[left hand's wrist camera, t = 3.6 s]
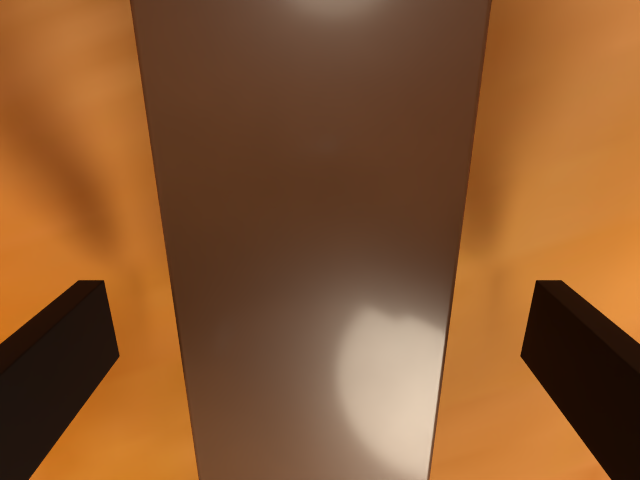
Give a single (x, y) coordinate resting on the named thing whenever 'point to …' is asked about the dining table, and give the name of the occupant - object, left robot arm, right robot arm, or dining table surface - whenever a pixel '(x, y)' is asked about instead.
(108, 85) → the dining table surface
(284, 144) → the beam
